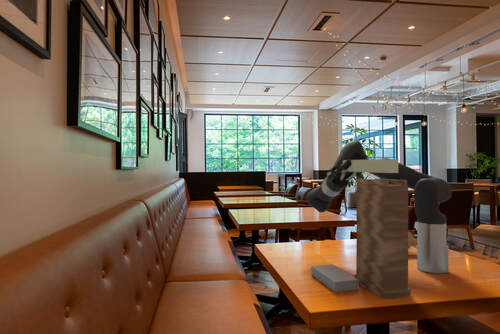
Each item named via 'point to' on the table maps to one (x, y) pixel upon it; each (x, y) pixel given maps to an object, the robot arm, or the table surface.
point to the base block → (334, 278)
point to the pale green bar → (374, 166)
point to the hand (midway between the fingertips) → (356, 161)
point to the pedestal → (382, 237)
